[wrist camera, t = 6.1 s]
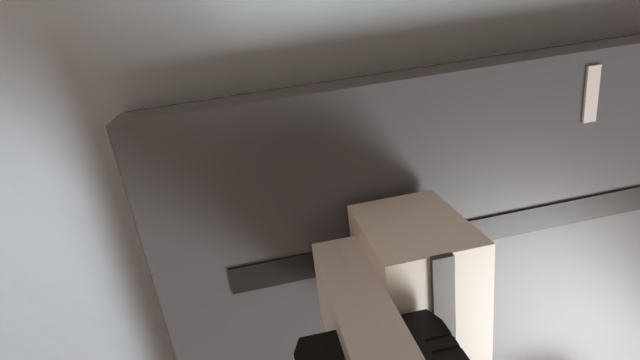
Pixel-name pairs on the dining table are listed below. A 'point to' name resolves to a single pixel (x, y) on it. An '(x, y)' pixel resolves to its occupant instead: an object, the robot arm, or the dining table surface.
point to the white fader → (432, 263)
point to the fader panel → (394, 180)
